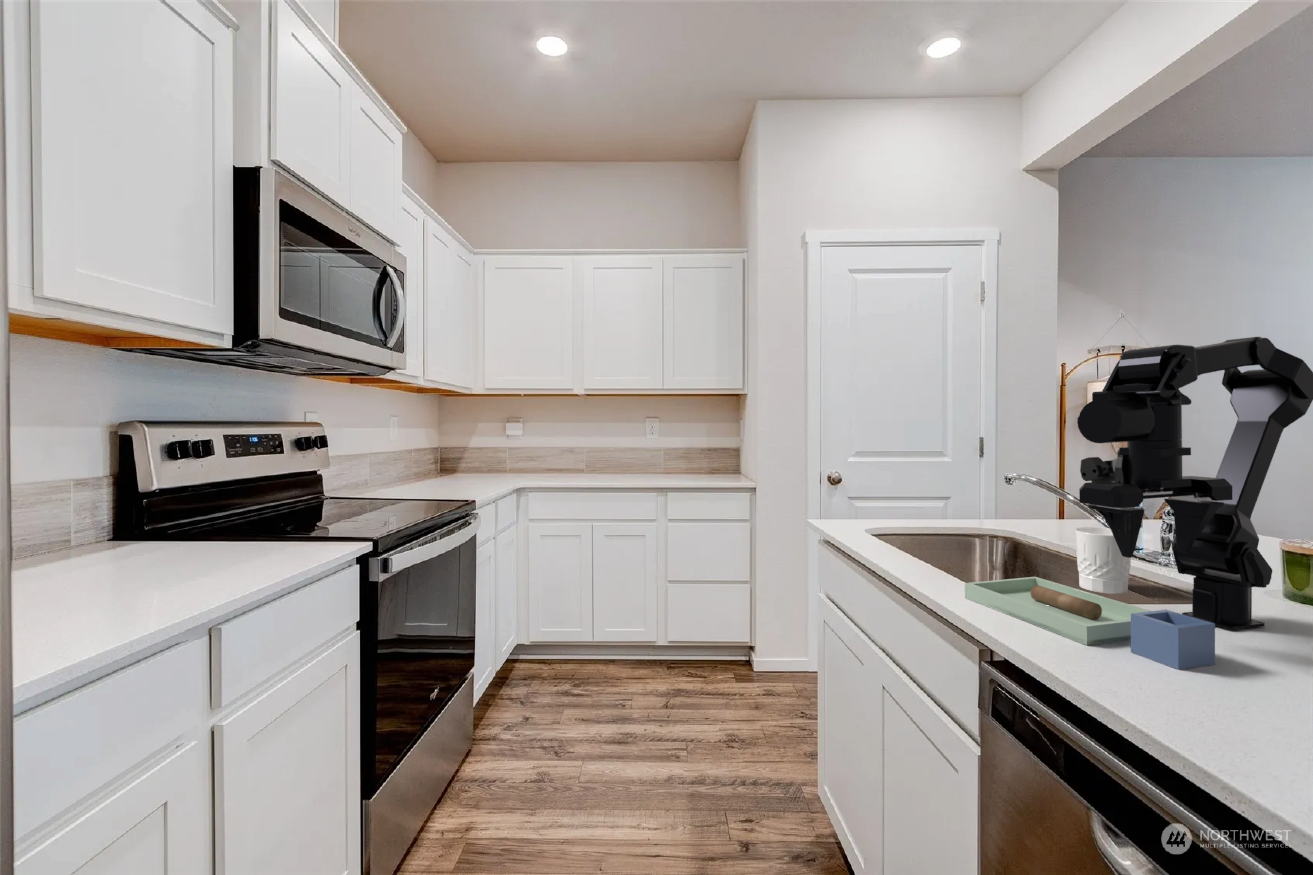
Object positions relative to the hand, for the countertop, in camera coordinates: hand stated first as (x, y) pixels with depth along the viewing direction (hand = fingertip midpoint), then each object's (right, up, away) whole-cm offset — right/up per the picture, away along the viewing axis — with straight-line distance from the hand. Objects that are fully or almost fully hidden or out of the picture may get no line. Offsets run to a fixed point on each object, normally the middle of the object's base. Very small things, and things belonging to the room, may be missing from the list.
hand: (1155, 554), depth 82 cm
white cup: (+9, -10, +22) cm, 26 cm away
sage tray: (-7, -11, +9) cm, 16 cm away
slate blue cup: (-5, -11, -8) cm, 14 cm away
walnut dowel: (-6, -9, +9) cm, 14 cm away
